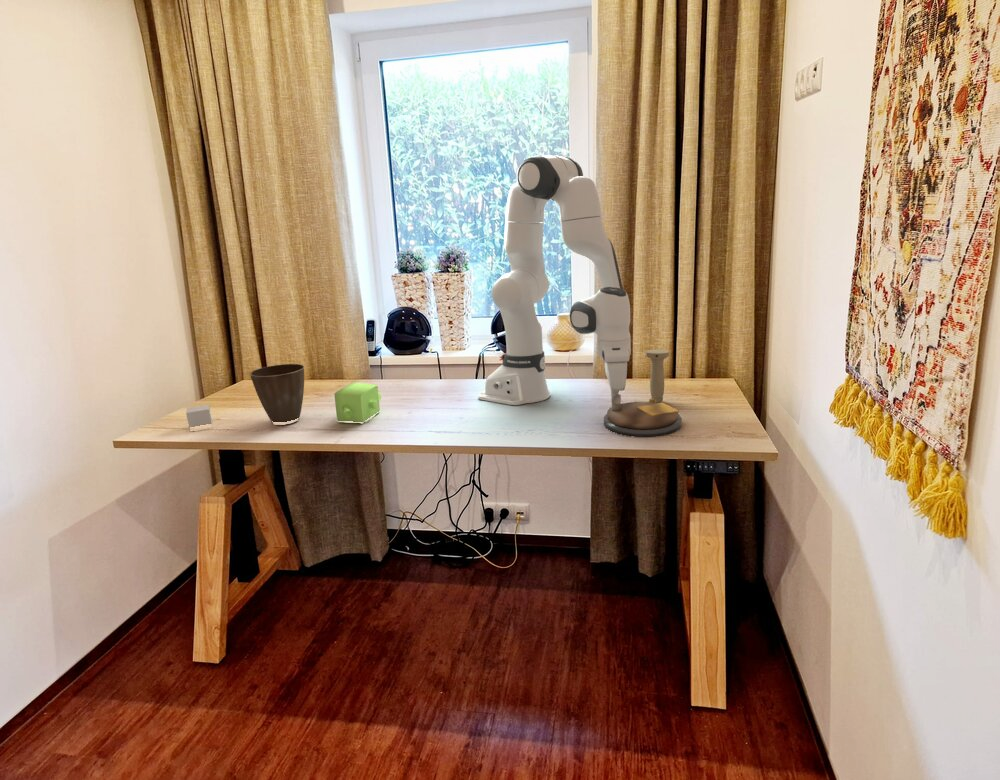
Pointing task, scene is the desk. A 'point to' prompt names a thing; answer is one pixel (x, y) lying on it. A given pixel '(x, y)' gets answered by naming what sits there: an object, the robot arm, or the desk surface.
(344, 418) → the gearbox
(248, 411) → the desk surface
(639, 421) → the disc
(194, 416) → the grey cube
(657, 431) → the wheel base
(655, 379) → the handle
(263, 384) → the plant pot
